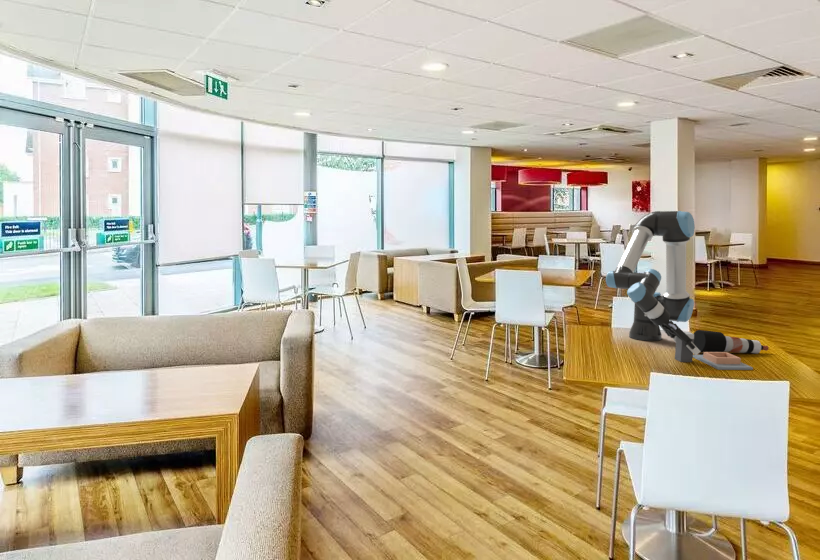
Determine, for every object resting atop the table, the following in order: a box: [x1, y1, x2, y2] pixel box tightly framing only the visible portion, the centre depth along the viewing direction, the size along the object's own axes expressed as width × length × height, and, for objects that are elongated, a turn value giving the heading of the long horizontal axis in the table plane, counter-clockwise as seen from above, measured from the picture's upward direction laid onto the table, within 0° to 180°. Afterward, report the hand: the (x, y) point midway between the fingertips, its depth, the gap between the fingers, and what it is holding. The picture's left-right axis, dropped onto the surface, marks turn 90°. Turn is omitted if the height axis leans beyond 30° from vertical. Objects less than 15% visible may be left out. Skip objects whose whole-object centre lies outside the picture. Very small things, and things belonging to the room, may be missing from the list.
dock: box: [693, 352, 754, 371], centre depth 232 cm, size 20×14×4 cm
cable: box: [693, 329, 770, 354], centre depth 249 cm, size 10×34×10 cm
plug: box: [674, 331, 694, 363], centre depth 235 cm, size 5×5×12 cm
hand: (691, 350), depth 236 cm, fingers open, 10 cm apart
